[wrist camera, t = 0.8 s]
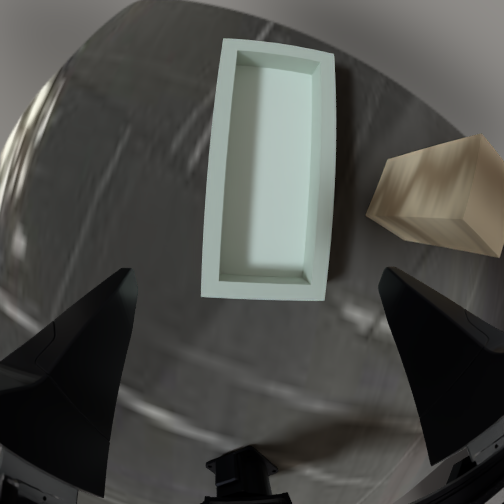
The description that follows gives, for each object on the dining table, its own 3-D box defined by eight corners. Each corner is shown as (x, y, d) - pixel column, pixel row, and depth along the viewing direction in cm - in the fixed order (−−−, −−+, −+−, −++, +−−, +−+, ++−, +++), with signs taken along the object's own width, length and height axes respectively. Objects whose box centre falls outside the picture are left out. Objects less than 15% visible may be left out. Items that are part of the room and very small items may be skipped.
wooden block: (403, 240, 24) (499, 258, 12) (365, 215, 23) (462, 219, 12) (423, 186, 24) (516, 179, 12) (387, 159, 23) (481, 133, 11)
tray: (310, 289, 24) (324, 300, 20) (204, 284, 23) (201, 296, 19) (321, 71, 21) (333, 54, 18) (223, 59, 20) (223, 38, 17)
